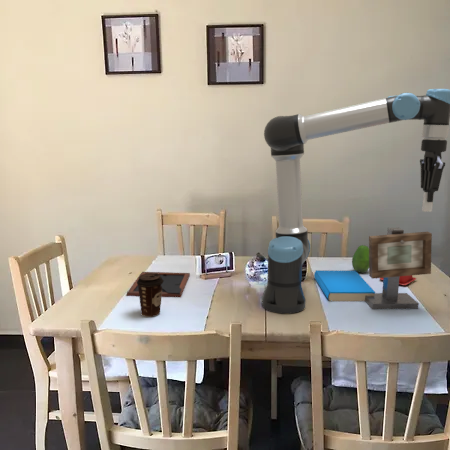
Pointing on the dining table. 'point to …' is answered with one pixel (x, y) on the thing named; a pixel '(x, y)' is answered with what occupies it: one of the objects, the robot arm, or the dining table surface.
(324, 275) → the book
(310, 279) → the dining table surface
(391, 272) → the picture frame
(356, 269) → the avocado
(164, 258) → the dining table surface
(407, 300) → the frame stand
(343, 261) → the dining table surface
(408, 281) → the butter dish
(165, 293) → the picture frame
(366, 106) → the robot arm
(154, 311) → the coffee cup
